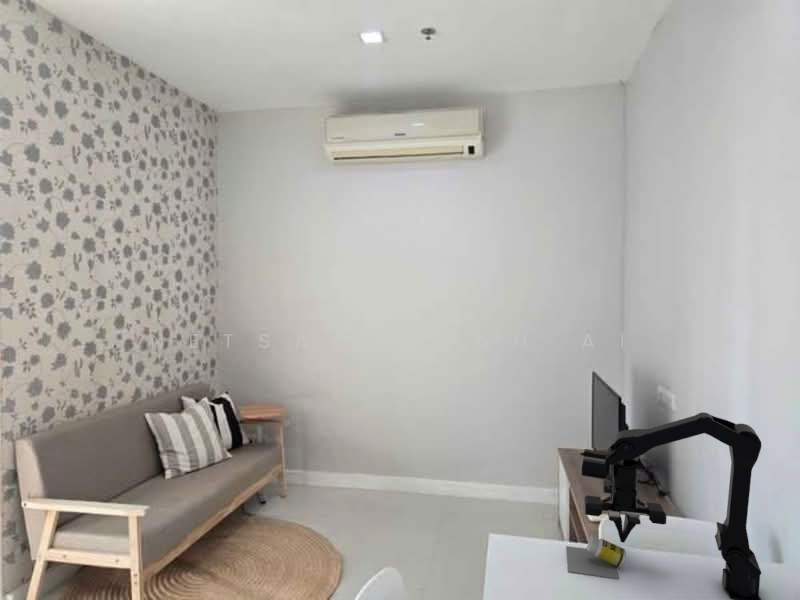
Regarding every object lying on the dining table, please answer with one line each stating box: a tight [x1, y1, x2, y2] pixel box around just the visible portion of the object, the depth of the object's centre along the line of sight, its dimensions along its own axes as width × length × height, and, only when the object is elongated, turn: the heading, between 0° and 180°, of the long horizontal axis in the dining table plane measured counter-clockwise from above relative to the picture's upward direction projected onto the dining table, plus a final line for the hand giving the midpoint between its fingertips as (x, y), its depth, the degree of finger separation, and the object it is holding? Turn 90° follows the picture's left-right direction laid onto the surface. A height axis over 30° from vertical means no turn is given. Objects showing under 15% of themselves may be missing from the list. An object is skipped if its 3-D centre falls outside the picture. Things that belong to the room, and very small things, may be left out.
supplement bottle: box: [586, 535, 627, 568], centre depth 138 cm, size 5×5×8 cm
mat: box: [565, 545, 620, 581], centre depth 139 cm, size 12×12×1 cm
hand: (622, 541), depth 136 cm, fingers closed
